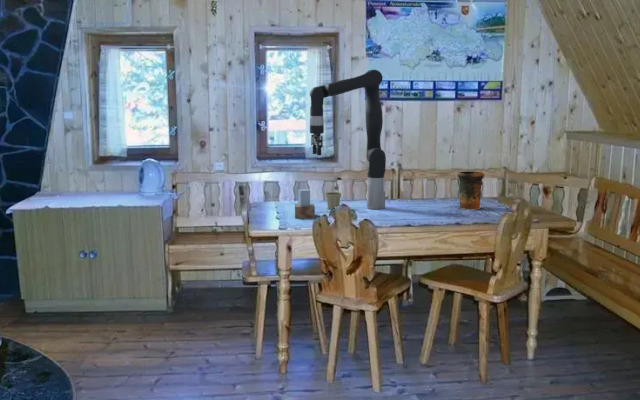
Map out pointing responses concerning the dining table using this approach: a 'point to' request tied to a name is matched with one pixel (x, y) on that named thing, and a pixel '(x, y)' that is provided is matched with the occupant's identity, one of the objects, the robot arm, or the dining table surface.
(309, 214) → the walnut box
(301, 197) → the light grey block
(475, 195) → the vessel
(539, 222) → the dining table surface
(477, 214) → the dining table surface
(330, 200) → the flower pot
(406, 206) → the dining table surface
